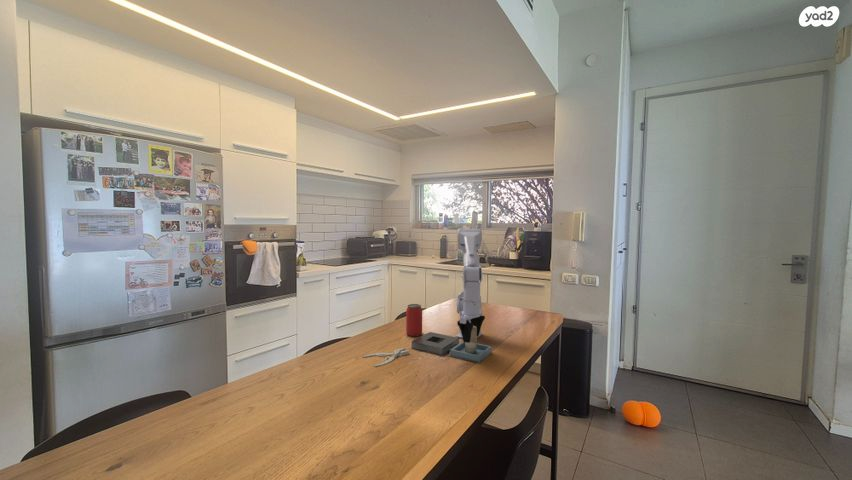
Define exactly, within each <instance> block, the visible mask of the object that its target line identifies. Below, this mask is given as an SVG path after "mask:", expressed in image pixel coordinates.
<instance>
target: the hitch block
mask: <svg viewBox="0 0 852 480" xmlns="http://www.w3.org/2000/svg"><path fill="white" fill-rule="evenodd" d="M458 344H460V338H459V337H456V336H452V335H447V334H443V333H437V332H432V331H429V332H427V333H425V334H423V335H420V336H418V338H417V337H416V339H414V340H411V349H414V350H418V351H422V352H426V353H430V354H435V355H438V356H443V355H445V354H447V353H448V352H450V349H452V348H453V347H455V346H457V345H458Z"/></svg>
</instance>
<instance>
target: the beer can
mask: <svg viewBox="0 0 852 480" xmlns="http://www.w3.org/2000/svg"><path fill="white" fill-rule="evenodd" d="M405 314H406V316H405V317H406V318H405V319H406V320H405V321H406V322H405V323H406V324H405V331H406V332H405V334H406V335H407V336H411V337H420V336H422V334H423V308H422V305H421V304H418V303H411V304H408V305H407V307H406V311H405Z"/></svg>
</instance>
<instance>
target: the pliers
mask: <svg viewBox="0 0 852 480" xmlns="http://www.w3.org/2000/svg"><path fill="white" fill-rule="evenodd" d="M407 355H410V349H409V350H408V349H407V350H406V347H402V348H401V347H400V348H397V349H394V350H393V352H376V353H370V354H365V355H363V356H362V358H363V359H364V358H368V357H369V358H370V357H381V358H385V359H384V361H383V362H380V363H377V364H375V365H374V367H375V368H376V367H381V366H384V365H388V364H390V363H391V362H393V361H395V359H396V358H397V357H401V356H407ZM389 356H390V357H389Z"/></svg>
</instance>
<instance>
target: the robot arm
mask: <svg viewBox="0 0 852 480" xmlns="http://www.w3.org/2000/svg"><path fill="white" fill-rule="evenodd" d="M456 237H457V239H456V240H457V247H458V248H457V249H459V250H461V251H462V253H463V254H462V255H463V258H462V259H463V268H462V282H463V283H462V284H463V286H462V287H463V290H461V291H460V292H459V293H457V296H456V297H457V298H456V313H457V314H459V320H457V326H458V328H459V333H458V334H457V333H456V335H455V337H457V338H459V339H460V338H461V339H462V342H463V341H464V342H467V343H469V342H470V339H471V332H472V328H473V326H476V327H477V338H479V337H481V336H482V335H483V334H484V333H483V332H482V331H481V329H482V325H483V322H484V320H485V318H486V317H485V315H483V309H482V296H481V284H482V280H483V270H482V266H481V264H480V257H479V253H477V252H476V251H478V250H480V249H481V246H482V241H483V231H482V228H463V227H462V228H458V229H457V236H456Z"/></svg>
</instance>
